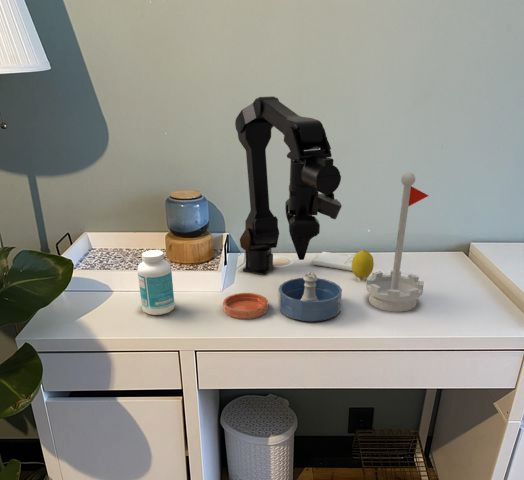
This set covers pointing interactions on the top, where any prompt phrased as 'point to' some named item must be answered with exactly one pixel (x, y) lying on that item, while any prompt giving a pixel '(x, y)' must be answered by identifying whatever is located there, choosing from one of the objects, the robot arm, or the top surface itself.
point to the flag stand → (398, 264)
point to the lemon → (362, 264)
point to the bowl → (309, 310)
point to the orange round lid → (245, 305)
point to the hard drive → (334, 261)
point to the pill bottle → (155, 283)
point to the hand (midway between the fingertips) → (299, 252)
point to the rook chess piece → (309, 287)
